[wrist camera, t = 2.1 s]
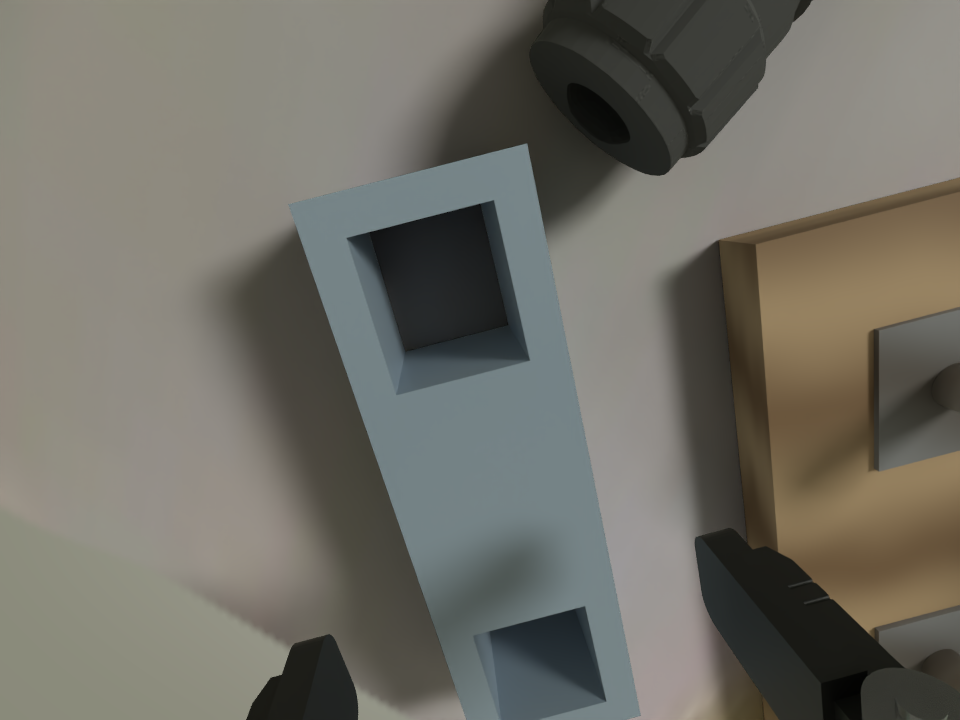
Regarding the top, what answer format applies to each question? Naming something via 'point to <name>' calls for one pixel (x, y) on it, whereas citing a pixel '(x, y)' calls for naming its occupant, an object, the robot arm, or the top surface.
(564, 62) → the flashlight
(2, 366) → the top surface
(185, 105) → the top surface
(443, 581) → the blue-grey block with holes
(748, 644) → the robot arm
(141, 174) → the top surface
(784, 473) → the mount board
